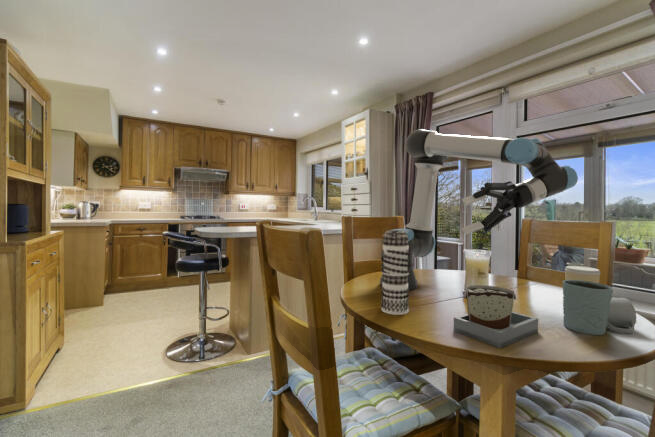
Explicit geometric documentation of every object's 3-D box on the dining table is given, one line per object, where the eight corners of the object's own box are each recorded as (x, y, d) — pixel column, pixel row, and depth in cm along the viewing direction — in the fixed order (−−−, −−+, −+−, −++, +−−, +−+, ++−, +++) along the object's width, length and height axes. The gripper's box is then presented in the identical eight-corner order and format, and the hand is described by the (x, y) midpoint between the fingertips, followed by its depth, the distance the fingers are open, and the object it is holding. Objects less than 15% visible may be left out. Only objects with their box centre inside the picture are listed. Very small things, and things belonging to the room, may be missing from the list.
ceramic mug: (584, 318, 89) (585, 292, 89) (618, 321, 87) (619, 294, 87) (606, 333, 79) (607, 303, 79) (645, 337, 77) (647, 306, 77)
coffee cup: (589, 300, 108) (590, 266, 107) (605, 308, 99) (607, 271, 98) (558, 298, 110) (559, 264, 110) (571, 306, 101) (573, 270, 101)
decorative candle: (416, 311, 94) (417, 231, 94) (394, 317, 89) (395, 231, 89) (395, 304, 102) (396, 229, 102) (374, 308, 97) (374, 230, 97)
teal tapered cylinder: (557, 319, 88) (559, 278, 88) (603, 326, 83) (605, 282, 83) (565, 331, 79) (567, 285, 79) (617, 340, 74) (619, 291, 74)
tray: (453, 330, 80) (453, 317, 79) (491, 318, 89) (492, 306, 89) (500, 348, 69) (500, 333, 69) (537, 331, 79) (538, 318, 79)
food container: (505, 322, 83) (505, 285, 83) (515, 331, 77) (516, 291, 77) (457, 319, 85) (458, 283, 85) (464, 328, 79) (464, 289, 78)
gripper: (540, 168, 88) (471, 195, 88) (528, 226, 105) (469, 249, 105) (522, 156, 94) (457, 181, 94) (512, 213, 110) (457, 235, 111)
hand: (463, 217), depth 99 cm, fingers open, 13 cm apart
